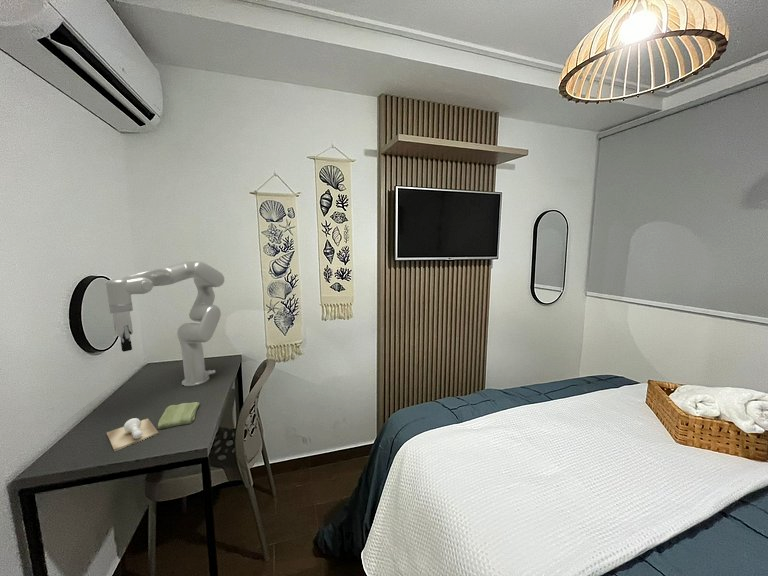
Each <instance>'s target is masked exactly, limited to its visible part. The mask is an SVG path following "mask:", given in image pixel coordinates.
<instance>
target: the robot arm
mask: <svg viewBox="0 0 768 576" xmlns="http://www.w3.org/2000/svg"><path fill="white" fill-rule="evenodd" d="M189 279H193V282H194V284H195V286H196V288H197V289H196V290H197V296H196V297H195V300H194V302H193V304H192V306H191V309H190V311H189V314H188V318H189V319H190V320H191V321H193V322H185V323H183V324H181V325H180V326H179V327H178V329H177V335H176V336H177V338H178V341H179V344H180V348H181V356H182V365H183V374H184V375H183V377H184V379H183V380H182V381H181V385H182V386H183V385H184V386H183V387H195V386H198V385H202V384H204V383H206V382H208V381H209V380H210V375H214V374H216V370H215V369H212V370H211V369H208V370H206V365H205V364H206V363H205V356H204V348H203V347H204V346H203V344H202V343H207V342H208V341H210V340H211V339H212V337H213V335H214V334H215V331H216V329H217V328H218V327H217V326H218V324H219V322H220V319H221V309H220V307H219V306H217V305H215V304H214V302H215V297H216V295H215V292H214V289H213V288H220V287H222V286H223V285H224V283H225V277H224V274H223V273H222V272H221V271H219V270H218V269H217V268H216V269H215V268H214V267H212V266H211V265H209V264H207V263H205V262H203V261H200V260H199V261H198V260H195V261H194V260H193V261H183V262H179V263H176V264H173V265H169V266H164V267H160V268H155V269H153V270H152V269H151V270H148V271H143V272H139V273H134V274H131V275H127V276H125V277H123V278H116V279H115V278H114V279H109V280H107V281H106V283H105V287H106V288H105V289H106V294H107V302H108V303H107V304H108V308H109V314H111V315H112V321H113V322H112V323H113V331H114V334H115V336H117V337H119V338H120V347H121V351H122V352H129V351H132V350H133V345H132V341H131V335H133V333H134V331H133V322H132V315H131V312H133V311H134V308H133V302H132V301H133V300H132V295H145V294H147V293H149V292H151V291H152V290H153V288H154V287H164V286H169V285H174V284H177V283H180V282H182V281H185V280H189Z"/></svg>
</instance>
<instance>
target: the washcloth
mask: <svg viewBox="0 0 768 576" xmlns="http://www.w3.org/2000/svg"><path fill="white" fill-rule="evenodd" d="M200 405H201V403H200V402H198V401H196V402H195V401H194V402H182V403H179V404H171V405H169V406H167V407H165V409H164V412H163V413H162V415H161V417H160V418H159V420H158V423H157V429H158V430H162V429H163V430H164V429H167V428H173V427H177V426H184V425H190V424H192V423H193V421H195V418H196V415H197V412H198V408H199V406H200ZM189 423H190V424H189Z"/></svg>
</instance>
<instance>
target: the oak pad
mask: <svg viewBox="0 0 768 576" xmlns="http://www.w3.org/2000/svg"><path fill="white" fill-rule="evenodd" d="M140 422H141V426H140V429H141V431H142V432H143V434H142V436H141V437H140V438H138V439H135V438H134V437H133V435H132V432H131V433H128V432H126V431H125V429H124V426H121V427H119V428H115V429H113V430H110V431H107V432H106V436H107V439H108V440H109V442H110V445H111V447H112V450H113V451H114V452H117V451H120V450H123V449H124V448H127V446H128V447H129V446H133V445H135V444H137V442H138V443H141V442H143V441H145V439H146V440H148V439H150V438H149V437H151V438H153V437H152V436H154V437H156V436H158V435H157V434H160V432H159V431H158V430H157V428H156V427H155V426H154V424H153V423H152V422H151V421H150V419H149V418H148V417H147V418H145V419H142V420H140ZM155 435H156V436H155ZM147 438H148V439H147ZM142 440H143V441H142ZM140 441H141V442H140ZM132 444H133V445H132Z"/></svg>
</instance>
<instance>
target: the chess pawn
mask: <svg viewBox="0 0 768 576" xmlns="http://www.w3.org/2000/svg"><path fill="white" fill-rule="evenodd" d="M140 421H141V420H140V419H139V418H137V417H135V418H130V419H128V420H127V421H126V422H125V423H124V424H123V427H124V429H125V431H126V432H128V433H131V432H132V435H133V437H134V438H135V439H138V438H140V437H141V436H142V434H143V432H142V431H141V429H140V426H141V422H140Z"/></svg>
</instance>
